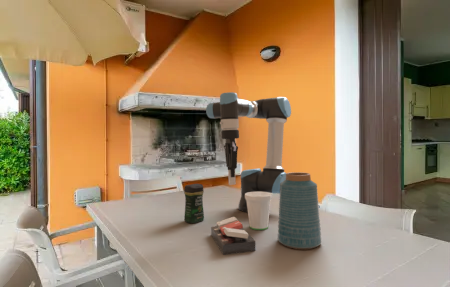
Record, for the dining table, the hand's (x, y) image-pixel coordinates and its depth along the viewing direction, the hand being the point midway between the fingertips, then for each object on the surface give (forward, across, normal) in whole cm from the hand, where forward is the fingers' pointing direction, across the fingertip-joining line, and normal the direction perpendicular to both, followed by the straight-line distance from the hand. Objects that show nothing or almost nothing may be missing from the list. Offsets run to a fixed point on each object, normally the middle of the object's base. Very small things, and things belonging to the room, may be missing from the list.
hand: (232, 184), depth 117 cm
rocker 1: (+15, +3, -4) cm, 16 cm away
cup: (+22, -4, +13) cm, 26 cm away
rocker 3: (+15, +16, -4) cm, 22 cm away
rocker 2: (+15, +10, -4) cm, 18 cm away
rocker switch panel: (+21, +7, -4) cm, 22 cm away
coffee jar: (+22, -23, -14) cm, 34 cm away
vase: (+22, +18, +21) cm, 35 cm away
